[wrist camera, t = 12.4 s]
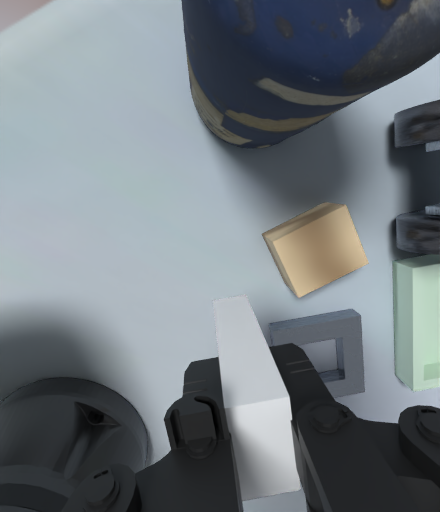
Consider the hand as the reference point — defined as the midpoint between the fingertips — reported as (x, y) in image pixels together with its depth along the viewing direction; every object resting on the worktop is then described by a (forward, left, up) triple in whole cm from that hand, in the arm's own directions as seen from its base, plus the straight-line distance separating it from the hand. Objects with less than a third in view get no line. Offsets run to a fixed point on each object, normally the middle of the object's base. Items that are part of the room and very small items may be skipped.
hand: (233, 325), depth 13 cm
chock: (+8, 0, -13) cm, 15 cm away
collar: (+8, -11, -13) cm, 19 cm away
